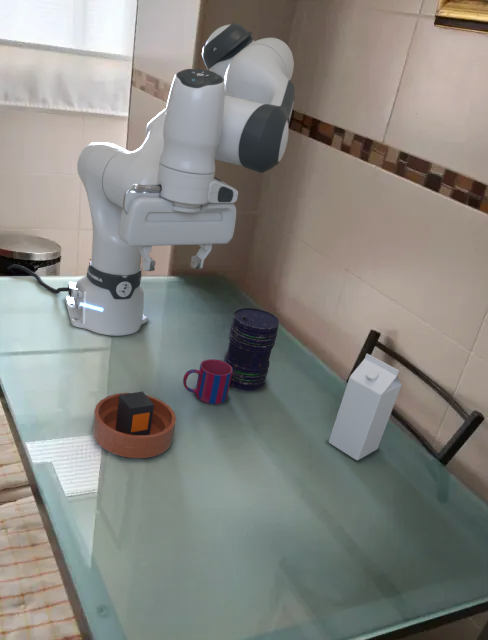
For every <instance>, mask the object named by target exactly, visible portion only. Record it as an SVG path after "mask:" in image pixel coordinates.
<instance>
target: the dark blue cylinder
mask: <svg viewBox="0 0 488 640" xmlns="http://www.w3.org/2000/svg"><path fill="white" fill-rule="evenodd" d="M279 326H280V320H279V318H278V317H277V316H276V315H274V314H273V313H271V312H269V311H266V310H263V309H260V308H253V307H242V308H237V309H235V311H234V312H233V317H232V320H231V324H230V327H229V333H228V339H229V341H228V345H227V351H226V352H225V354H224V358H223V361H224V362H226V363H228V364H229V365H230V366H231V367H232V368H233V372H232V377H231V382H230V386H229V388H231V389H234V390H238V391H241V392H258V391H259V390H261V389H263V388H264V386H265V381H266V378H267V375H268V373H269V368H270V358H271V354H272V350H273V349H274V347H275V343H276V340H277V335H278V328H279Z"/></svg>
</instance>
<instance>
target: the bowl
mask: <svg viewBox="0 0 488 640" xmlns="http://www.w3.org/2000/svg"><path fill="white" fill-rule="evenodd" d="M128 393H129V392H120V393H114V394H111V395H108V396H105V397H104V398H102V399H101V400H99V401H98V403H97V404H95V407H94V411H93V421H92V422H93V423H92V435H93V439H94V440H95V442H96V443H97V444H98V445H99V446H100V447H101V448H102V449H103V450H105V451H107V452H109V453H110V454H114V455H116V456H119V457H122V458H123V457H124V458H131V459H148V458H152V457H156V456H158V455H161V454H164V453H165V452H166V451H167V450H169V449H170V447H171V445H172V444H173V439H174V434H175V427H176V421H177V416H176V413H175V411H174V410H173V408H172V407H171V406H170V405H169V404H168V403H166V402H164V401H163V400H161V399H160V398H157V397H155V396H151V395H148V394H145V395H146V396H147V397H148V398H149V399H150V400H151V402H152V403H153V404H154V409H153V416H152V423H151V430H150V435H131V434H125V433H122V432H119V431H116V421H117V412H118V403H119V395H121V394H128Z"/></svg>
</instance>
